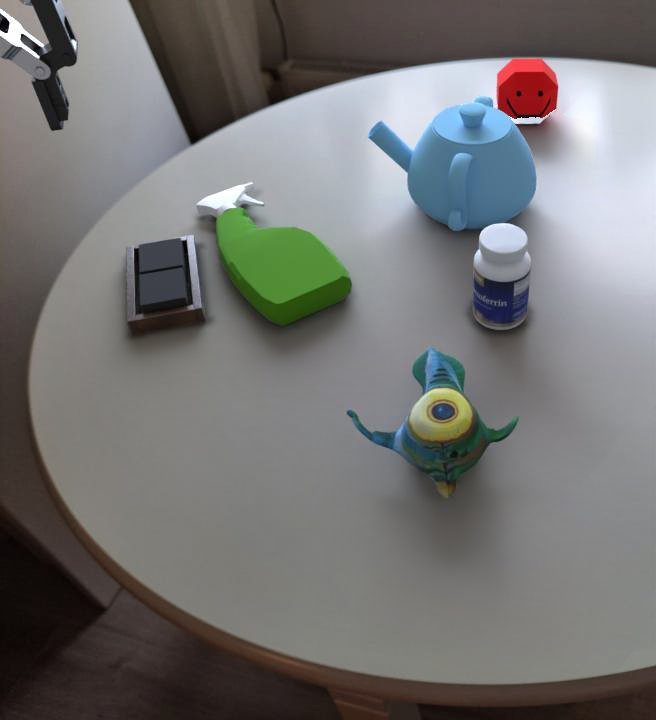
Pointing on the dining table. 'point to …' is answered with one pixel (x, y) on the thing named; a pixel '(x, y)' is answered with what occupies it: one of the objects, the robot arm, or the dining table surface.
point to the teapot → (465, 165)
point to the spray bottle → (274, 261)
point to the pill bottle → (501, 277)
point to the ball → (527, 89)
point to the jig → (169, 316)
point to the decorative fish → (440, 424)
